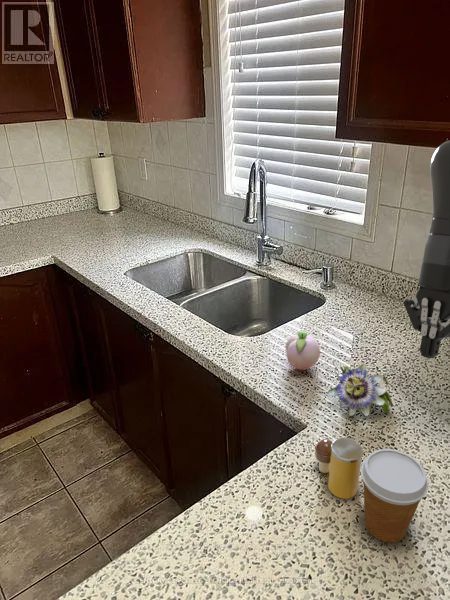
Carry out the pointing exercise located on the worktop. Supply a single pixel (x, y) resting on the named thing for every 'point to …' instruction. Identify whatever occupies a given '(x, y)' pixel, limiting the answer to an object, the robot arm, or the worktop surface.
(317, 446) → the mushroom
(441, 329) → the robot arm
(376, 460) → the disposable coffee cup
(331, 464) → the yellow tin
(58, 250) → the worktop surface
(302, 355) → the decorative fruit
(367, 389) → the passion flower
